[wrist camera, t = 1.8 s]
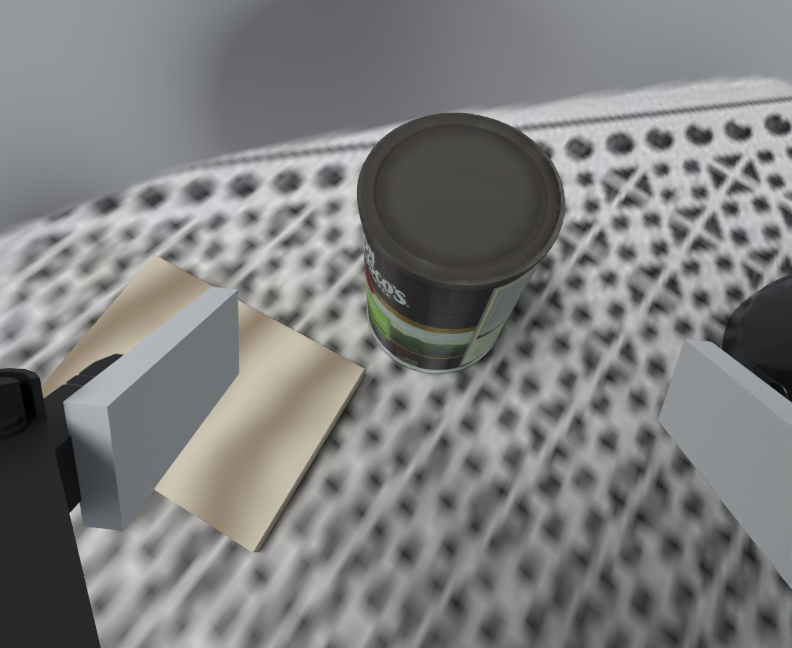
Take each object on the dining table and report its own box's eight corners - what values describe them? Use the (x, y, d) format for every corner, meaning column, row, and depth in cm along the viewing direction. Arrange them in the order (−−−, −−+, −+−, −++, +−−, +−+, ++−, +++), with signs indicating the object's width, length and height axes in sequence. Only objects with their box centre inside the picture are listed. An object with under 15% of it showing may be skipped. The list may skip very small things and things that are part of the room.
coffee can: (389, 393, 35) (392, 309, 22) (350, 268, 39) (333, 134, 26) (526, 353, 37) (602, 251, 24) (475, 236, 41) (518, 93, 28)
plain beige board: (365, 375, 36) (364, 368, 34) (258, 551, 31) (252, 552, 30) (162, 264, 39) (154, 254, 38) (38, 410, 34) (24, 405, 33)
